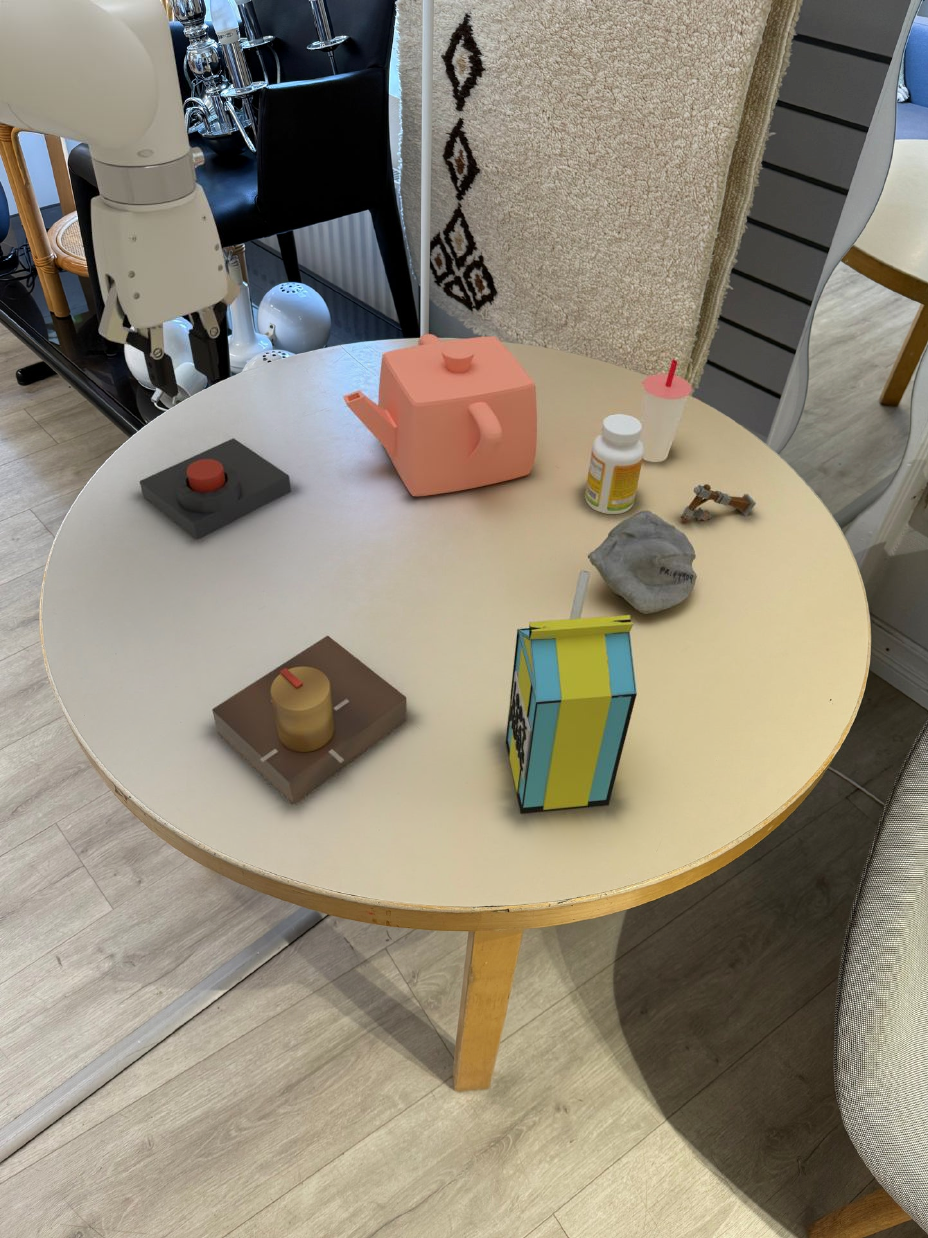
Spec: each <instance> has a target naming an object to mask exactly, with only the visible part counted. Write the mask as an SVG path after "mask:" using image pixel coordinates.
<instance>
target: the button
mask: <svg viewBox="0 0 928 1238" xmlns="http://www.w3.org/2000/svg"><path fill="white" fill-rule="evenodd" d="M187 476H188V480H189V485H190V488H191V489H192V490H194V491H197V492H209V491H215V490H217V489H220V488H222V487H223V486H224V485H225V475H224V470H223V466H222V464H221V463H220V462H218V461H216V460H212V459H203V460H198V461H196V462H194V463H192V464H190V465H189V466H188V468H187Z"/></svg>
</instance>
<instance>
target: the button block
mask: <svg viewBox="0 0 928 1238" xmlns="http://www.w3.org/2000/svg"><path fill="white" fill-rule="evenodd" d="M203 459H212V460H216V461H218V462H220V463H221V464H222V466H223V470H224V475H225V485H224V486H223V487H222V488H220V489H217V490H215V491H209V492H197V491H194V490H192V489H191V488H190V485H189V480H188V476H187V468H188V466H189V465H190V464H192V463H194V462H196V461H198V460H203ZM139 485H140V489H141V493H142V496H143V498H144V499H145V500H146V501H147V502H149V503H150V504H151V505H152V506H153V507H155V508H156V509H158V510H159V511H160V512H161V513H162V514H164V515H165V516H166V517H168V518H169V519H170V520H171V521H172V522H174V523H175V524H176V525H178V526H179V527H180V528H181V529H183V530H184V531H185V532H186V533H188V534H189V535H190V536H191V537H193V538H194V539H195V540H197V541H198V540H200V539H202V538H204V537H206V536H208V535H210V534H213V533H214V532H215V531H218V530H220V529H222V528H224V527H225V526H227V525H230V524H231V523H234V522H235V521H237V520H239V519H241V518H243V517H245V516H247V515H248V514H250V513H253V512H254V511H256V510H258V509H260V508H262V507H265V506H266V505H268V504H270V503H271V502H274V501H276V500H278V499H279V498H282V497H284V496H285V495H288V494H290V493H291V492H292V489H291V481H290V475H288V473H286V472H284V470H281V469H280V468H279V467H277V466H276V465H275V464H272V463H271V462H270V461H269V460H266V459H265V458H263V457H262V456H260V455H259V454H257V453H256V452H255V451H253V450H252V449H251V448H249V447H247V446H246V445H245V444H243V443H242V442H240V441H238V440H237V439H235V438H234V437H232V438H231V439H228V440H226V441H224V442H221V443H219V444H217V445H215V446H213V447H210V448H208V449H206V450H204V451H202V452H200V453H198V454H196V455H193V456H191V457H188V458H187V459H185V460H182V461H181V462H180V461H179V462H178V463H176V464H173V465H171V466H169V467H167V468H164V469H163V470H160V471H159V472H156V473H154V474H152V475H150V476H147V477H145V478H142V479H141V480H139Z"/></svg>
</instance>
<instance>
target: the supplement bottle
mask: <svg viewBox="0 0 928 1238" xmlns="http://www.w3.org/2000/svg"><path fill="white" fill-rule="evenodd" d="M640 421H641V420H639V419H638V418H637V417H634V416H632V415H629V414H624V413H616V414H615V413H614V414H610V415H608V416H606V417H605V418H603V421H602V425H601V431H600V432H601V433H600V434H599V435H597V436H596V437H595V439H594V440H593V443H592V446H591V453H590V460H589V466H588V472H587V479H586V485H585V494H584V498H585V501H586V503H587V505H588V506H589V507H590V508H592V509H593V510H594V511H596V512H598V513H602V514H606V515H607V514H608V515H619V514H623V513H626V512H628V511H630V509H631V508H632V507H633V506H634V503H635V501H636V500H635V499H636V496H637V495H636V494H637V490H638V484H639V480H640V475H641V469H642V464H643V460H644V459H643V455H644V447H643V444H642V442H641V441H640V440H639V439H640V436H641V430H642V425H641V422H640Z"/></svg>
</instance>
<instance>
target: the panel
mask: <svg viewBox="0 0 928 1238" xmlns="http://www.w3.org/2000/svg"><path fill="white" fill-rule="evenodd" d="M295 667H311V668H315V669H317V670H319V671H321V672H322V673H324V674H325V675H326V677H327V678H328V680H329V682H330V690H331V699H332V708H333V718H334V727H335V728H334V734H333V736H332V738H331V739H330V741H329V742H328V743H327V744H326V745H324V746H323V747H321V748H319V749H317V750H314V751H310V752H297V751H293V750H291V749H289V748H287V747H286V746H284V745H283V744H282V743H281V741H280V739H279V737H278V732H277V726H276V720H275V715H274V709H273V703H272V698H271V686H272V683H273V681H274V680H275V679H276V678H277V676H279V675H280V671H281V670H283V669H285V668H286V669H291V668H295ZM407 709H408V708H407V697H406V696H405V694H403V693H401V692H400V691H399V690H398V689H397V688H395V687H394V686H393V685H392V684H391V683H389V682H387V680H385V679H384V678H383V677H382V676H380V675H379V674H377V673H376V672H375V671H373V670H372V669H371V668H370V667H369V666H368V665H366V664H365V663H363V662H362V660H359V659H358V658H357V657H356V656H355V655H354V654H352V653H351V652H350V651H348V650H347V649H346V648H345V647H343V646H342V645H340V643H338V642H337V641H336V640H334V639H333V638H332V637H330V636H329V635H326V636H324V637H323V638H321V639H320V640H318V641H316V642H315V643H313V644H312V645H310V646H309V647H307V648H305V649H304V650H302V651H301V652H299V653H298V654H295V656H293V657H291V658H289V659H288V660H287V661H285V662H284V663H282V664H280V665H279V666H277V667H275V668H274V669H273V670H271V671H270V672H268V673H266V674H265V675H263V676H262V677H260V678H259V679H257V680H255V681H254V682H252V683H251V684H249V685H247V686H246V687H244V688H243V689H242V690H239V691H238V692H236V693H235V694H234V695H232V696H231V697H229V698H227V699H225V700H224V701H223V702H221V703H219V704H218V705H216V706H215V707H213V708H212V709H211V711H212V715H213V719H214V722H215V727H216V730H217V734H219V735H220V737H222V738H223V739H224V741H226V742H227V743H228V744H229V745H230V746H231V747H232V748H233V749H235V751H236V752H237V753H238V754H240V755H241V756H242V757H243V759H245V760H246V761H247V762H248V763H249V764H250V765H251V766H252V767H253V768H255V770H256V771H257V772H258V773H259V774H261V775H262V777H264V778H265V779H266V780H267V781H268V782H269V783H270V784H271V785H272V786H273V787H274V788H275V789H276V790H277V791H279V792H280V793H281V794H282V795H283V796H284V798H286V800H288V801H289V802H290V803H291V805H295V804H297V803H298V802H300V801H301V800H302V799H304V798H305V797H306V796H308V795H309V794H310V793H311V792H313V791H315V790H316V789H317V788H319V786H321V785H322V784H324V783H325V782H326V781H327V780H329V779H331V778H332V777H333V776H334V775H336V774H338V772H340V771H341V770H343V769H344V768H345V767H346V766H348V765H349V764H350V763H352V762H353V761H354V760H356V759H357V758H358V757H360V756H361V755H362V754H364V753H365V752H366V751H368V750H369V749H370V748H372V747H373V746H375V745H376V744H377V743H378V742H380V741H381V740H383V739H384V738H385V737H387V736H388V735H389V734H391V733H392V732H393V731H394V730H396V729H397V728H398V727H400V726H401V725H403V724H404V723H405V722H407V720H408V714H407Z"/></svg>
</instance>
